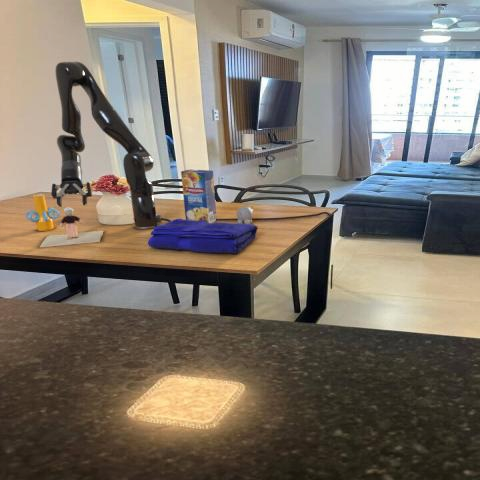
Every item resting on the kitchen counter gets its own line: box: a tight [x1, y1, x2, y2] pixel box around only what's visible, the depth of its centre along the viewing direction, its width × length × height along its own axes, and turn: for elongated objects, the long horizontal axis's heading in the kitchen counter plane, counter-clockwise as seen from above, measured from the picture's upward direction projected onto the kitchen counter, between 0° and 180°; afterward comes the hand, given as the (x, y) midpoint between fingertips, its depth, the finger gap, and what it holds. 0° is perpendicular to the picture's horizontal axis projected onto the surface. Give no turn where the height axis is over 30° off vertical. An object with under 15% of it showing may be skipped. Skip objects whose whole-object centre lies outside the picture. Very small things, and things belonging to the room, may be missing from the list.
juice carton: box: [180, 168, 217, 223], centre depth 177 cm, size 12×8×24 cm, turn 75°
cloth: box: [39, 230, 104, 248], centre depth 154 cm, size 20×14×1 cm
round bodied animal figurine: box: [236, 205, 254, 225], centre depth 180 cm, size 7×12×8 cm, turn 165°
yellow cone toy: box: [24, 193, 60, 232], centre depth 163 cm, size 12×10×15 cm
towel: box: [147, 218, 259, 255], centre depth 151 cm, size 26×36×9 cm
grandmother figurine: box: [59, 206, 83, 240], centre depth 152 cm, size 8×4×13 cm, turn 148°
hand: (72, 205), depth 159 cm, fingers open, 8 cm apart
